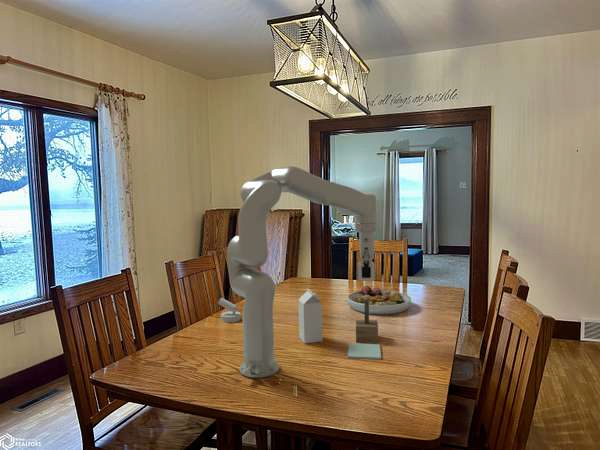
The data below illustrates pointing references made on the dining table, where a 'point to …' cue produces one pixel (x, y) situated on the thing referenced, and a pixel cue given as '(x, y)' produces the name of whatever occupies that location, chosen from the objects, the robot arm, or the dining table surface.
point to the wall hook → (232, 314)
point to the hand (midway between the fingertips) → (366, 275)
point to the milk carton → (310, 318)
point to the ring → (361, 272)
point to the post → (367, 327)
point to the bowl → (379, 301)
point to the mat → (364, 351)
